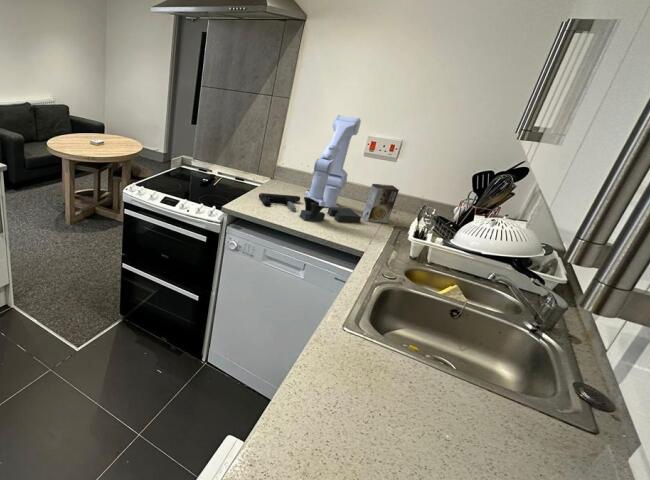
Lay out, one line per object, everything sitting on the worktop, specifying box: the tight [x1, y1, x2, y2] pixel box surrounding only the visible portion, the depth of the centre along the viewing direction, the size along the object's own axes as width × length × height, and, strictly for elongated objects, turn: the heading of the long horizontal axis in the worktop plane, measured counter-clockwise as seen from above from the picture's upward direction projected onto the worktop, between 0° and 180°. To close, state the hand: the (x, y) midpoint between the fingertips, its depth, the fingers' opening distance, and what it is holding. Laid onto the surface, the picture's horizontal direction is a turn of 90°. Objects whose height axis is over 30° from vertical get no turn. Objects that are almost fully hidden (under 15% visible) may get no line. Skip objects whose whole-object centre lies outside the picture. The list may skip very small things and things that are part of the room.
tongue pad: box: [299, 209, 326, 222], centre depth 173 cm, size 5×9×3 cm, turn 92°
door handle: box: [258, 192, 301, 212], centre depth 188 cm, size 3×20×16 cm
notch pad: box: [326, 207, 362, 224], centre depth 177 cm, size 10×10×3 cm
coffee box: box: [361, 183, 400, 224], centre depth 176 cm, size 9×6×16 cm
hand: (310, 215), depth 173 cm, fingers closed on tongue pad, 5 cm apart
